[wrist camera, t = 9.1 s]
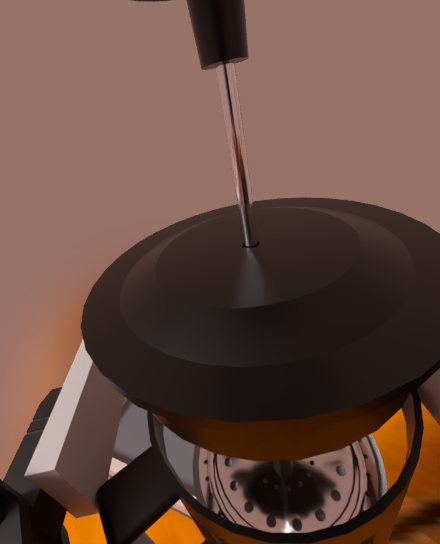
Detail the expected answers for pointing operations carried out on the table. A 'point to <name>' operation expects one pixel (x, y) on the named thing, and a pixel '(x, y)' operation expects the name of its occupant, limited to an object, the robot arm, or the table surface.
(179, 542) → the table surface
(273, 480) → the french press
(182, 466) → the serving tray
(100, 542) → the table surface
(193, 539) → the table surface
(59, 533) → the robot arm
